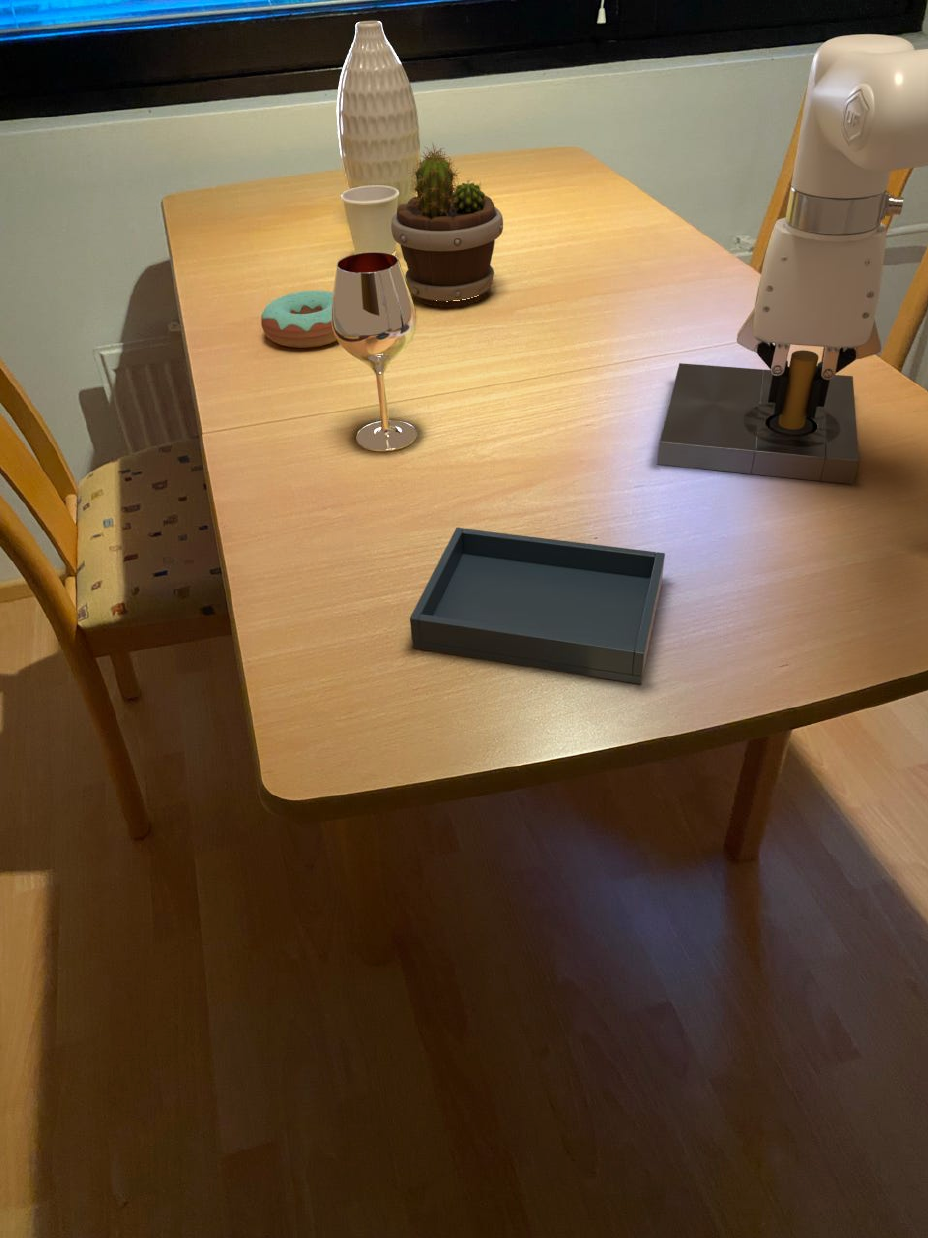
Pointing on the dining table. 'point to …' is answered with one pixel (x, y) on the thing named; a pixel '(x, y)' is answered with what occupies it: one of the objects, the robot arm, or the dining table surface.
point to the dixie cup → (371, 217)
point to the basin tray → (541, 604)
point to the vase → (377, 115)
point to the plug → (797, 396)
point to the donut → (300, 319)
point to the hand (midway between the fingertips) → (794, 409)
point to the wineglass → (375, 331)
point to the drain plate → (755, 427)
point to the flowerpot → (446, 236)
